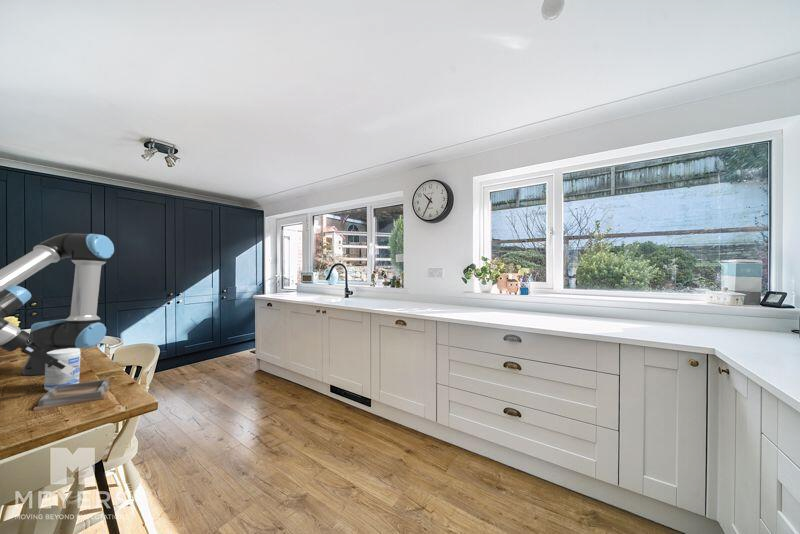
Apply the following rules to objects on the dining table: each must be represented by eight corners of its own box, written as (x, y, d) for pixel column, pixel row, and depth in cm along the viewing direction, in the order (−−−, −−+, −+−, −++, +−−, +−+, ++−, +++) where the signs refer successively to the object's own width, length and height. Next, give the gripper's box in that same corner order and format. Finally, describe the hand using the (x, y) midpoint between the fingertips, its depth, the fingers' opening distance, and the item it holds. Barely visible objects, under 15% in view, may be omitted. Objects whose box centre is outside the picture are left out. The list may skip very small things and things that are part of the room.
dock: (50, 393, 115) (51, 386, 115) (111, 384, 125) (111, 378, 125) (33, 410, 102) (33, 402, 102) (103, 399, 112) (103, 391, 112)
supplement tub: (74, 388, 120) (76, 352, 121) (39, 393, 115) (41, 355, 115) (82, 381, 128) (84, 346, 129) (49, 385, 123) (51, 349, 123)
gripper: (-6, 340, 115) (52, 370, 128) (0, 352, 102) (64, 383, 114) (17, 325, 120) (71, 355, 132) (26, 333, 106) (85, 366, 118)
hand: (68, 368), depth 123 cm, fingers open, 13 cm apart
